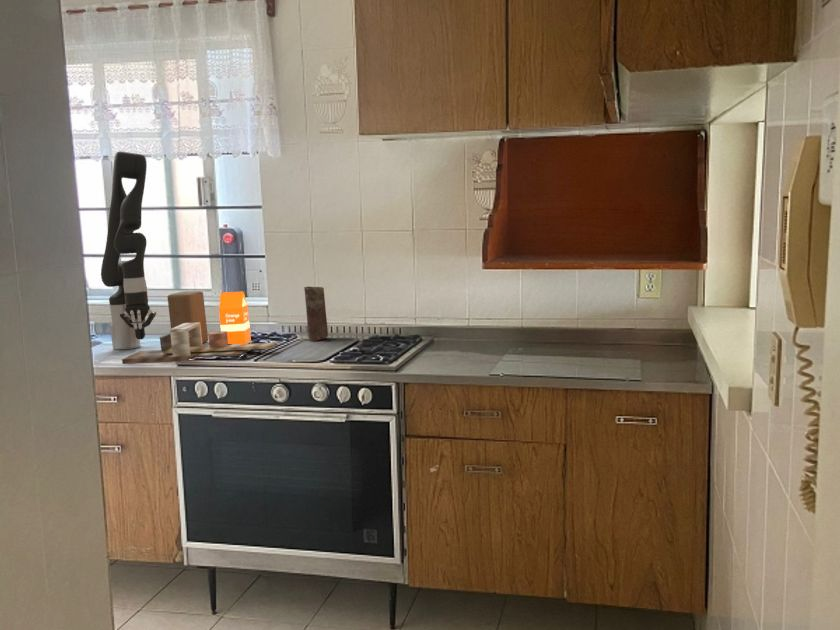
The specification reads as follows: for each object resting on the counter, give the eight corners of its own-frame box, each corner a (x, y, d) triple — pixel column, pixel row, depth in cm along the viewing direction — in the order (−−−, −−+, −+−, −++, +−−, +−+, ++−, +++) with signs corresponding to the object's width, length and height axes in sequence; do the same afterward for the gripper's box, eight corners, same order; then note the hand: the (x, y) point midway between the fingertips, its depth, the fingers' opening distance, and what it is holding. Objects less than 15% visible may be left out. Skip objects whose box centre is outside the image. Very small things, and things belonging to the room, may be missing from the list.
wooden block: (172, 347, 301) (166, 295, 298) (186, 342, 311) (181, 291, 308) (195, 347, 298) (189, 294, 295) (209, 341, 308) (203, 290, 305)
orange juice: (246, 346, 293) (240, 292, 290) (222, 348, 293) (216, 294, 290) (251, 342, 300) (246, 290, 297) (228, 343, 301) (223, 291, 298)
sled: (161, 354, 278) (159, 337, 277) (169, 350, 284) (167, 333, 284) (271, 348, 274) (269, 331, 273) (276, 344, 281) (274, 328, 280)
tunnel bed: (122, 363, 276) (118, 332, 274) (139, 355, 289) (136, 325, 288) (240, 358, 272) (237, 326, 270) (252, 349, 286) (249, 319, 284)
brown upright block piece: (309, 338, 302) (305, 285, 299) (329, 336, 302) (324, 284, 299) (307, 342, 294) (303, 288, 291) (327, 340, 294) (323, 286, 291)
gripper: (112, 292, 275) (117, 341, 278) (149, 291, 274) (154, 340, 277) (122, 289, 283) (127, 337, 286) (158, 288, 281) (163, 336, 284)
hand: (140, 338), depth 281 cm, fingers closed
